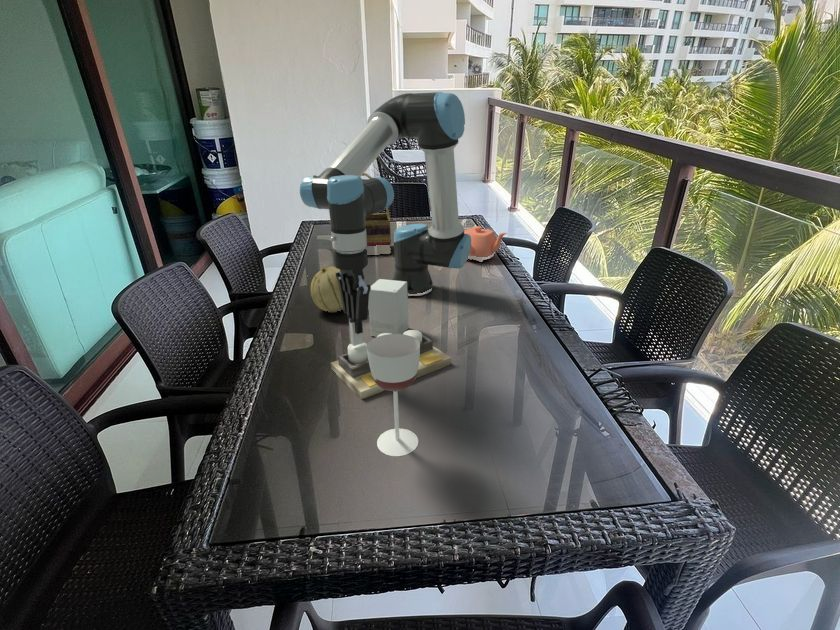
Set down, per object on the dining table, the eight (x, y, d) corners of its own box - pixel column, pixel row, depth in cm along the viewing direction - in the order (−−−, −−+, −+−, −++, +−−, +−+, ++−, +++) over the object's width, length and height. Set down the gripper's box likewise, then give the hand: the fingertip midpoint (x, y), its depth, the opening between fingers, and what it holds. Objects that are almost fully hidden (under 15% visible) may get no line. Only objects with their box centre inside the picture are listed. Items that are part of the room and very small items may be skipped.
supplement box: (409, 327, 138) (408, 281, 132) (398, 341, 131) (396, 292, 124) (381, 323, 141) (379, 277, 135) (369, 336, 133) (366, 288, 127)
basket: (332, 257, 201) (323, 175, 186) (333, 248, 214) (326, 170, 200) (392, 255, 204) (389, 172, 189) (390, 245, 217) (387, 168, 202)
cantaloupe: (367, 309, 151) (364, 265, 145) (331, 324, 141) (326, 278, 135) (339, 297, 160) (335, 256, 154) (303, 311, 150) (298, 267, 144)
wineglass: (373, 429, 96) (367, 335, 86) (419, 426, 96) (417, 332, 87) (373, 458, 88) (366, 358, 79) (423, 455, 89) (422, 355, 79)
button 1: (345, 357, 114) (344, 345, 113) (363, 352, 117) (362, 339, 115) (354, 366, 110) (353, 353, 109) (372, 360, 113) (371, 347, 112)
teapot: (505, 263, 191) (507, 230, 185) (463, 267, 187) (464, 234, 181) (489, 251, 207) (491, 220, 201) (450, 254, 203) (450, 223, 197)
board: (331, 369, 117) (329, 354, 115) (415, 340, 131) (415, 326, 129) (361, 399, 105) (360, 382, 103) (450, 364, 119) (451, 349, 117)
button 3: (399, 344, 123) (399, 333, 122) (415, 339, 126) (414, 328, 124) (410, 352, 119) (409, 340, 118) (425, 346, 122) (425, 335, 120)
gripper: (321, 245, 105) (331, 337, 115) (348, 259, 95) (356, 358, 105) (351, 239, 109) (358, 329, 118) (379, 253, 99) (384, 349, 109)
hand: (357, 343), depth 112 cm, fingers closed
